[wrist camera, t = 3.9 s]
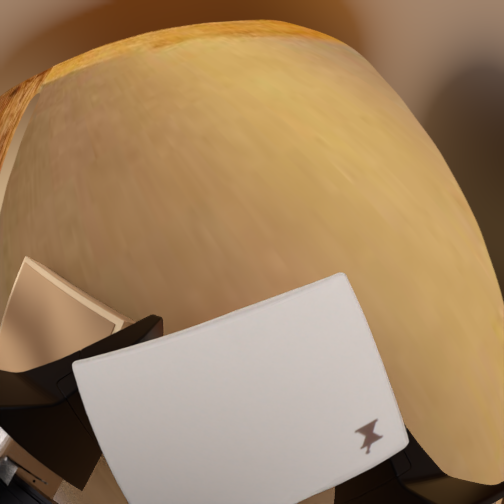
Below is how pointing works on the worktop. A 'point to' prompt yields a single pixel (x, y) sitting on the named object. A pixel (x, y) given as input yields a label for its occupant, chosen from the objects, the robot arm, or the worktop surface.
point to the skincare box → (247, 403)
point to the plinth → (50, 319)
